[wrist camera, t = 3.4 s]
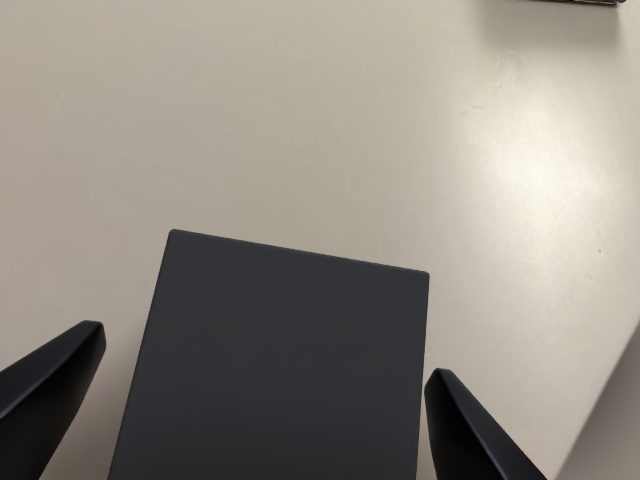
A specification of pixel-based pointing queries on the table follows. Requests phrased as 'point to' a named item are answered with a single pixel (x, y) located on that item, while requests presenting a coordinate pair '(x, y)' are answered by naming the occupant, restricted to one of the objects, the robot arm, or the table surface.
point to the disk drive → (604, 1)
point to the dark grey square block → (275, 367)
